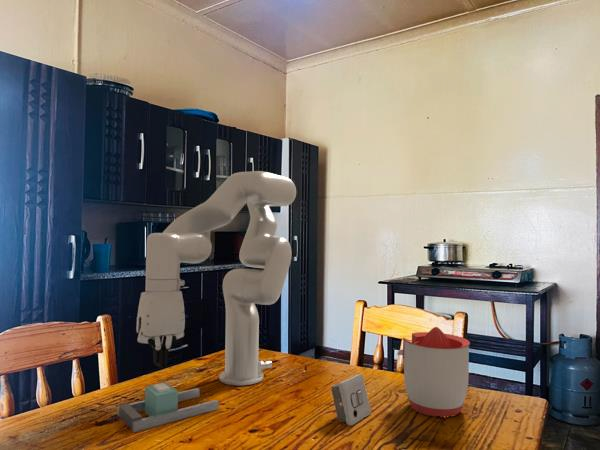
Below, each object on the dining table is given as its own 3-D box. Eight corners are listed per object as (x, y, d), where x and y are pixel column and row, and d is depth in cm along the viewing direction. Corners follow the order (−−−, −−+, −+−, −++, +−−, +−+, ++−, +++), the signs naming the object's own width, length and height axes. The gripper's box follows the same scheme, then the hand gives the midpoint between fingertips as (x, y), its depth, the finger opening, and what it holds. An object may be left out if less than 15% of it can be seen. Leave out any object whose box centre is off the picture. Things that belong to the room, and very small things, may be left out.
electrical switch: (350, 427, 99) (347, 384, 99) (331, 423, 102) (328, 381, 103) (371, 414, 106) (369, 374, 107) (353, 411, 109) (350, 372, 110)
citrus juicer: (409, 391, 122) (410, 317, 122) (476, 406, 112) (477, 325, 112) (385, 409, 109) (386, 326, 109) (458, 428, 99) (459, 337, 99)
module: (165, 407, 109) (165, 379, 109) (177, 417, 103) (177, 388, 103) (144, 412, 105) (145, 384, 105) (156, 422, 100) (156, 392, 100)
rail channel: (197, 395, 116) (197, 385, 116) (218, 409, 108) (218, 398, 108) (117, 415, 103) (117, 404, 103) (133, 432, 95) (134, 420, 95)
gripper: (185, 282, 112) (184, 356, 112) (124, 286, 103) (122, 367, 102) (199, 285, 106) (197, 363, 106) (135, 290, 97) (133, 375, 97)
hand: (160, 365), depth 104 cm, fingers closed
